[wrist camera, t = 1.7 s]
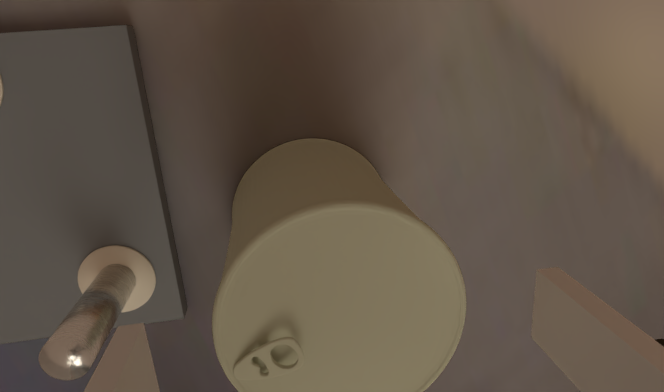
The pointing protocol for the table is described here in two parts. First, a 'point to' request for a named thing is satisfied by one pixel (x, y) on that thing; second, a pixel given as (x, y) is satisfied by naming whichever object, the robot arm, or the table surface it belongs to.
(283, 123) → the table surface
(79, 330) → the pins
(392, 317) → the can
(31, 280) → the board
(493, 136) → the table surface
